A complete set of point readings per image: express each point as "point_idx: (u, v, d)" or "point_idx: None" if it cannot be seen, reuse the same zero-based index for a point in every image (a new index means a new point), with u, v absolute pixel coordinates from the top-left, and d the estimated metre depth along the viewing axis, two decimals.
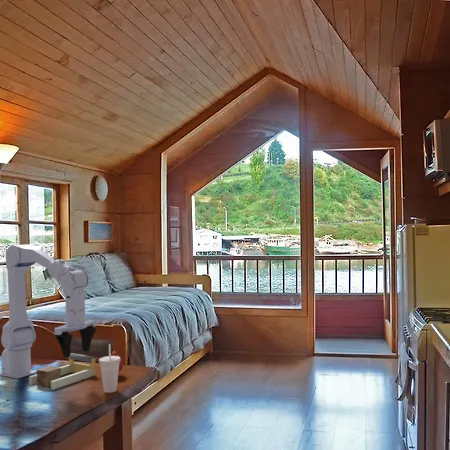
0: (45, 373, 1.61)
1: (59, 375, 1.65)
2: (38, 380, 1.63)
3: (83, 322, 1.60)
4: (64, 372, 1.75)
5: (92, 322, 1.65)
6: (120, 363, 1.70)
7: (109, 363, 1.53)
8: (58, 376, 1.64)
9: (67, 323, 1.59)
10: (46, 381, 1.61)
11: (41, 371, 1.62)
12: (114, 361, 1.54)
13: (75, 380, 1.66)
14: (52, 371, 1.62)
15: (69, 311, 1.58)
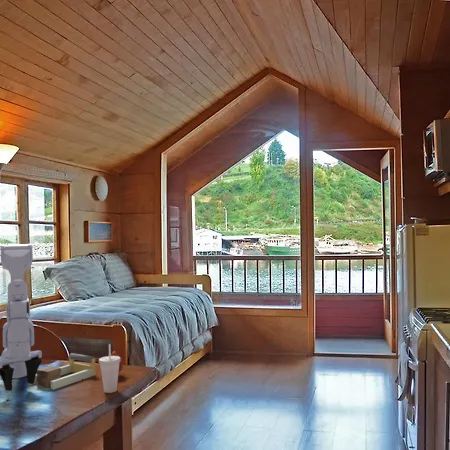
0: (45, 373, 1.61)
1: (59, 375, 1.65)
2: (38, 380, 1.63)
3: (26, 354, 1.54)
4: (64, 372, 1.75)
5: (38, 353, 1.59)
6: (120, 363, 1.70)
7: (109, 363, 1.53)
8: (58, 376, 1.64)
9: (9, 355, 1.53)
10: (46, 381, 1.61)
11: (41, 371, 1.62)
12: (114, 361, 1.54)
13: (75, 380, 1.66)
14: (52, 371, 1.62)
15: (11, 343, 1.53)
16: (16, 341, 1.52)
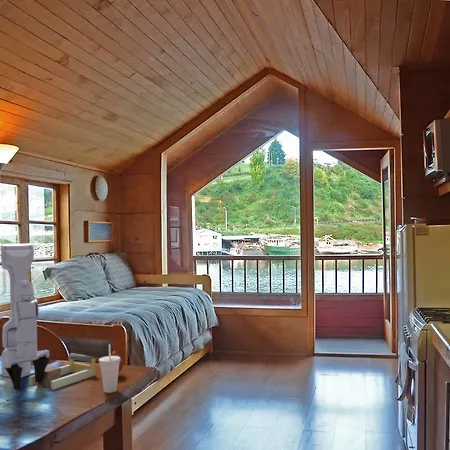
0: (45, 373, 1.61)
1: (59, 375, 1.65)
2: None
3: (35, 353, 1.57)
4: (64, 372, 1.75)
5: (45, 352, 1.62)
6: (120, 363, 1.70)
7: (109, 363, 1.53)
8: (58, 376, 1.64)
9: (18, 355, 1.56)
10: (46, 381, 1.61)
11: None
12: (114, 361, 1.54)
13: (75, 380, 1.66)
14: (52, 371, 1.62)
15: (20, 343, 1.55)
16: (26, 341, 1.55)
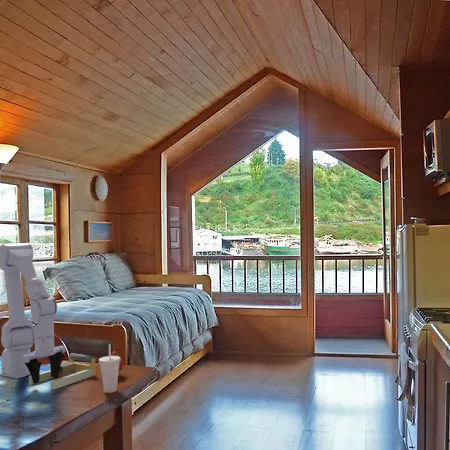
0: (61, 368, 1.66)
1: (74, 370, 1.69)
2: None
3: (52, 349, 1.62)
4: None
5: (62, 348, 1.67)
6: (120, 363, 1.70)
7: (109, 363, 1.53)
8: (73, 371, 1.69)
9: (36, 350, 1.61)
10: (61, 376, 1.66)
11: None
12: (114, 361, 1.54)
13: (75, 380, 1.66)
14: (67, 366, 1.67)
15: (38, 338, 1.60)
16: (46, 336, 1.61)
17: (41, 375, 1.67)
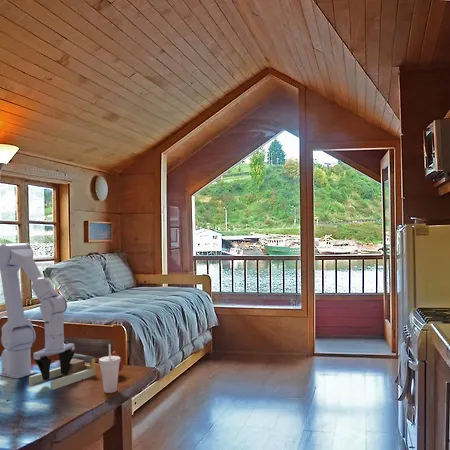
0: (71, 365, 1.69)
1: (83, 367, 1.73)
2: None
3: (62, 346, 1.65)
4: None
5: (71, 346, 1.70)
6: (120, 363, 1.70)
7: (109, 363, 1.53)
8: (82, 368, 1.72)
9: (46, 347, 1.64)
10: (71, 372, 1.69)
11: None
12: (114, 361, 1.54)
13: (75, 380, 1.66)
14: (77, 363, 1.71)
15: (48, 336, 1.64)
16: (58, 334, 1.64)
17: (41, 375, 1.67)
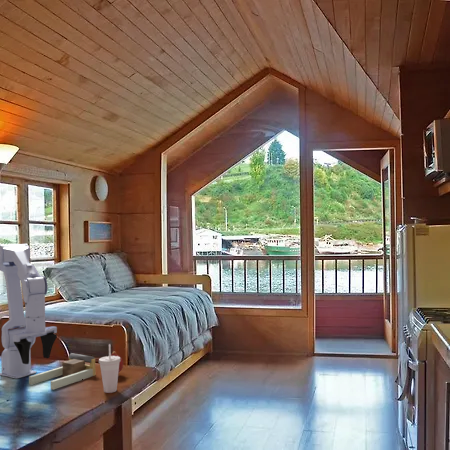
0: (71, 365, 1.69)
1: (83, 367, 1.73)
2: (63, 372, 1.71)
3: (43, 329, 1.59)
4: None
5: (53, 328, 1.65)
6: (120, 363, 1.70)
7: (109, 363, 1.53)
8: (82, 368, 1.72)
9: (26, 330, 1.58)
10: (71, 373, 1.69)
11: (66, 363, 1.71)
12: (114, 361, 1.54)
13: (75, 380, 1.66)
14: (77, 363, 1.71)
15: (28, 318, 1.58)
16: (35, 316, 1.58)
17: (41, 375, 1.67)
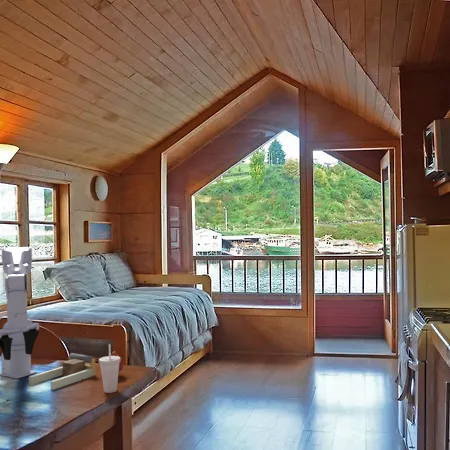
0: (71, 365, 1.69)
1: (83, 367, 1.73)
2: (63, 372, 1.71)
3: (24, 325, 1.61)
4: None
5: (35, 325, 1.66)
6: (120, 363, 1.70)
7: (109, 363, 1.53)
8: (82, 368, 1.72)
9: (8, 326, 1.60)
10: (71, 373, 1.69)
11: (66, 363, 1.71)
12: (114, 361, 1.54)
13: (75, 380, 1.66)
14: (77, 364, 1.71)
15: (10, 314, 1.59)
16: (14, 312, 1.59)
17: (41, 375, 1.67)
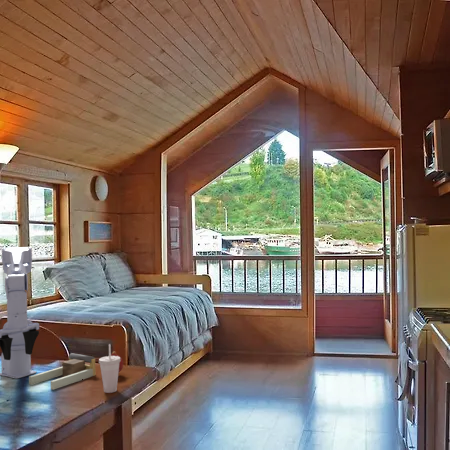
0: (71, 366, 1.69)
1: (83, 367, 1.73)
2: (63, 372, 1.71)
3: (24, 325, 1.61)
4: None
5: (35, 325, 1.66)
6: (120, 363, 1.70)
7: (109, 363, 1.53)
8: (82, 368, 1.72)
9: (8, 326, 1.60)
10: (71, 373, 1.69)
11: (66, 363, 1.71)
12: (114, 361, 1.54)
13: (75, 380, 1.66)
14: (77, 364, 1.71)
15: (10, 314, 1.59)
16: (14, 312, 1.59)
17: (41, 375, 1.67)
